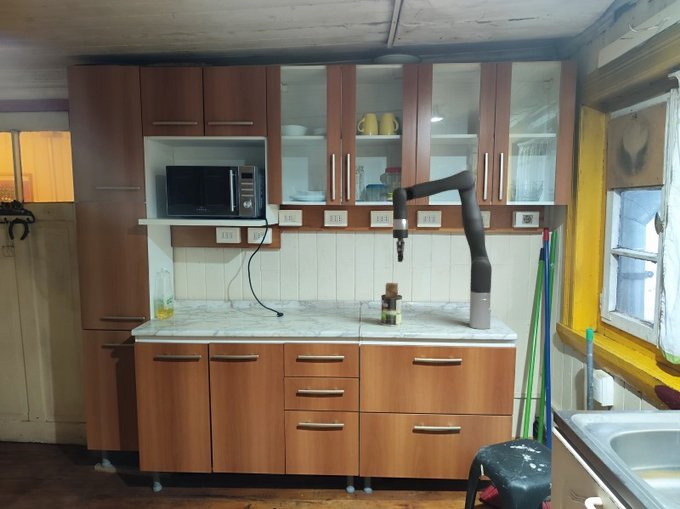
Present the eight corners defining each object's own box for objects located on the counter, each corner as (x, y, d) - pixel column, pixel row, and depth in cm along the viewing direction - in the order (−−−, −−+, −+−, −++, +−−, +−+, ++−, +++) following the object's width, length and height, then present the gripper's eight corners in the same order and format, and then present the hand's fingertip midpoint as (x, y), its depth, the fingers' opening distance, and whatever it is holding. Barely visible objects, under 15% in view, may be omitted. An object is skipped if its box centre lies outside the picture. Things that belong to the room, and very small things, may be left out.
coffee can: (386, 327, 203) (386, 298, 202) (377, 322, 213) (377, 294, 212) (405, 325, 206) (406, 297, 205) (396, 320, 216) (396, 293, 215)
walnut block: (397, 295, 210) (397, 283, 210) (396, 297, 205) (396, 285, 204) (386, 294, 211) (386, 282, 211) (385, 296, 206) (385, 284, 206)
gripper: (407, 228, 202) (407, 262, 203) (408, 228, 216) (408, 259, 217) (391, 228, 203) (392, 262, 205) (393, 228, 217) (394, 259, 219)
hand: (400, 261), depth 211 cm, fingers open, 8 cm apart
